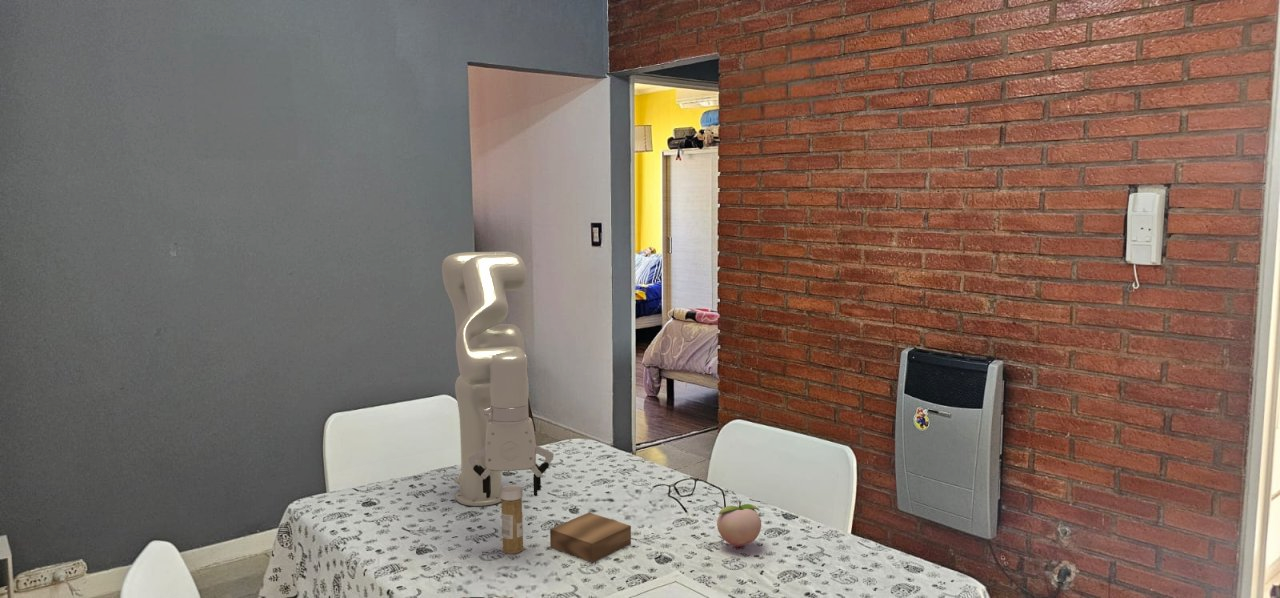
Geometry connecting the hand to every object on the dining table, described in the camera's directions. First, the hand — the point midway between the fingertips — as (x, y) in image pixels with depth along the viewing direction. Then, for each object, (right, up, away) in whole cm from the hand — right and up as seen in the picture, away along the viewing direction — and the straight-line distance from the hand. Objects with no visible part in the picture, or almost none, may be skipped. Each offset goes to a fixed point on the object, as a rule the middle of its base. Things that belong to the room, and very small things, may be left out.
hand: (512, 495), depth 174 cm
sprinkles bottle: (0, -12, +2) cm, 12 cm away
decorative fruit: (+47, -12, +3) cm, 49 cm away
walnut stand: (+16, -12, +4) cm, 20 cm away
